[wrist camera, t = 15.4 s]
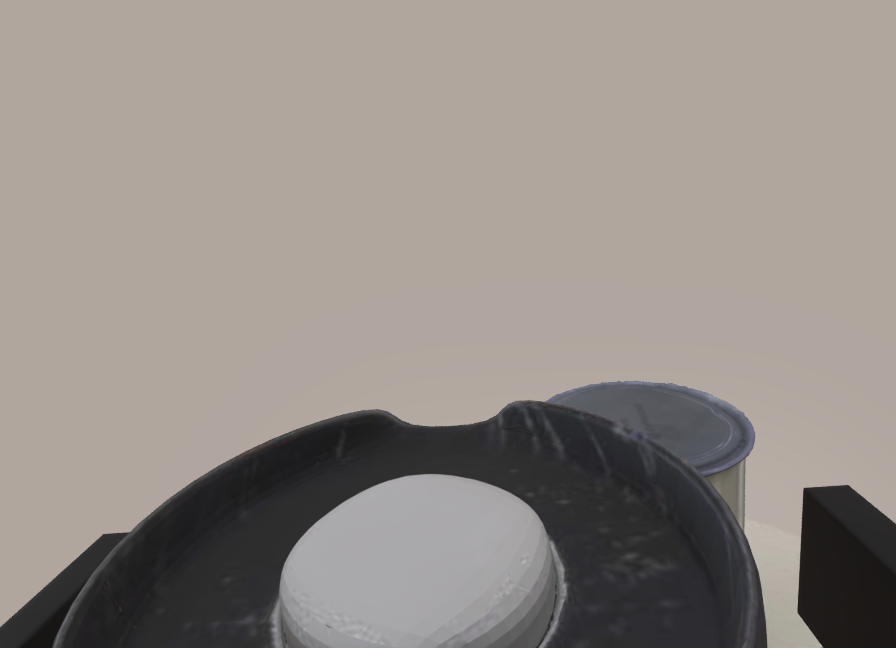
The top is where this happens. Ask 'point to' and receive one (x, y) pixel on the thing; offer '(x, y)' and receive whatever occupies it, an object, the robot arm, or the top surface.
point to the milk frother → (679, 427)
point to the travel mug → (434, 544)
